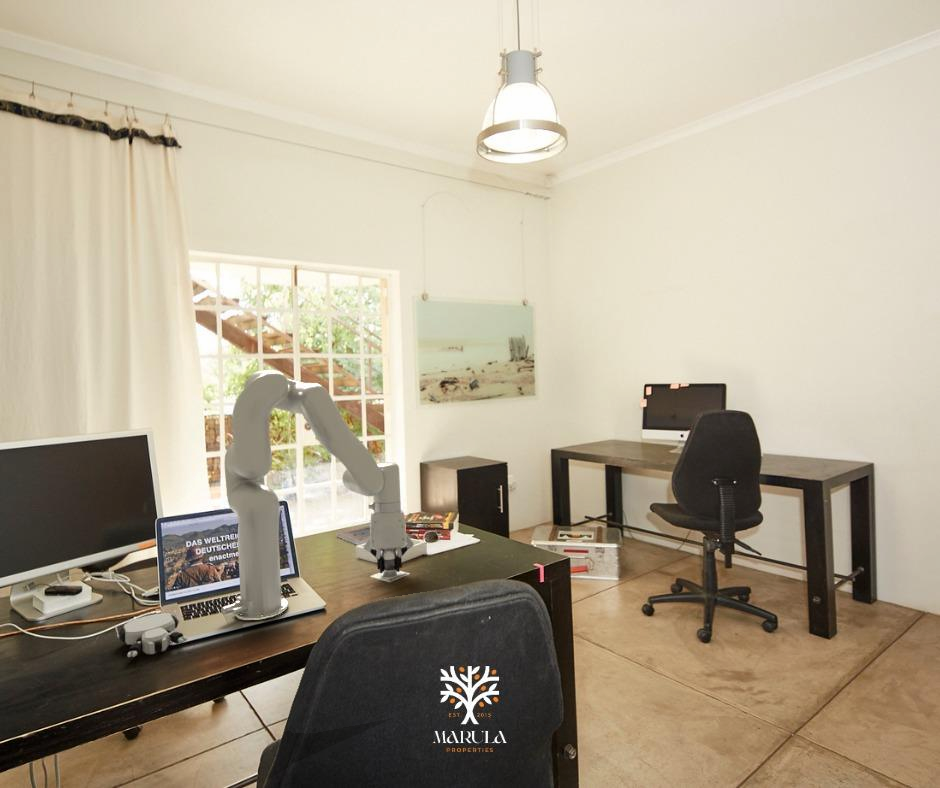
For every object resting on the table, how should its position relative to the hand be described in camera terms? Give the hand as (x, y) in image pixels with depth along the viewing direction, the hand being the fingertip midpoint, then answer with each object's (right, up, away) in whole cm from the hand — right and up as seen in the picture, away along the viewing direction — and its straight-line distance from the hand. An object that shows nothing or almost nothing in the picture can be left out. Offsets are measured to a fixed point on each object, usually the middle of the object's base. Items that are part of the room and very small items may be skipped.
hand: (389, 570), depth 164 cm
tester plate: (0, -2, 0) cm, 2 cm away
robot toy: (-47, -6, -36) cm, 60 cm away
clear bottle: (0, -1, 0) cm, 1 cm away
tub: (-2, -2, +18) cm, 19 cm away
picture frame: (-12, -2, +46) cm, 47 cm away
